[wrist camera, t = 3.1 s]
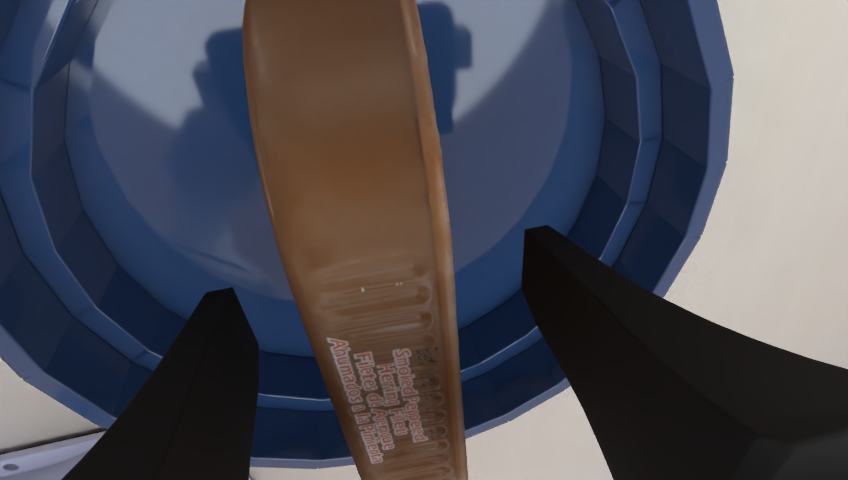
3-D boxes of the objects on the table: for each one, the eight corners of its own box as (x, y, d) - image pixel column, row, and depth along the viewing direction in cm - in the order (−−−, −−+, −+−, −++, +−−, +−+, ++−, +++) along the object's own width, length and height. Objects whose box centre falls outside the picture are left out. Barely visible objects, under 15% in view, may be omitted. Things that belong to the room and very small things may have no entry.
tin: (430, 330, 21) (493, 543, 14) (358, 347, 20) (387, 573, 14) (379, -94, 11) (493, -50, 5) (243, -77, 11) (167, -4, 4)
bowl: (181, 410, 21) (158, 518, 17) (-217, -161, 9) (-538, -182, 6) (593, 318, 23) (646, 397, 20) (703, -241, 11) (886, -292, 8)
